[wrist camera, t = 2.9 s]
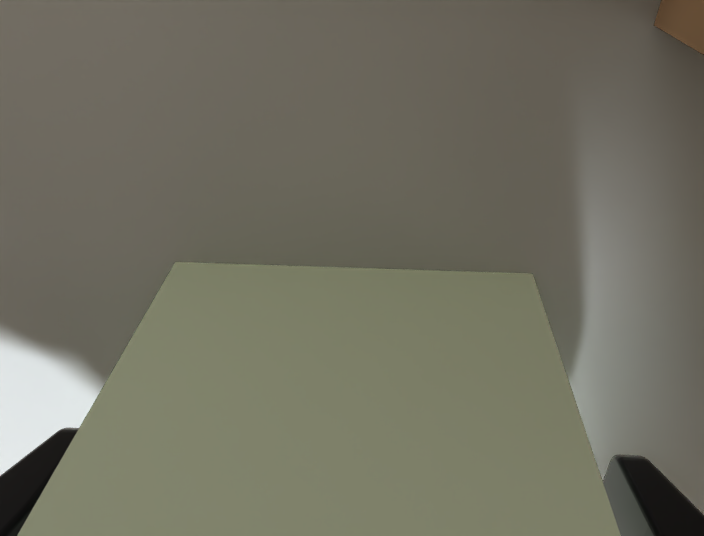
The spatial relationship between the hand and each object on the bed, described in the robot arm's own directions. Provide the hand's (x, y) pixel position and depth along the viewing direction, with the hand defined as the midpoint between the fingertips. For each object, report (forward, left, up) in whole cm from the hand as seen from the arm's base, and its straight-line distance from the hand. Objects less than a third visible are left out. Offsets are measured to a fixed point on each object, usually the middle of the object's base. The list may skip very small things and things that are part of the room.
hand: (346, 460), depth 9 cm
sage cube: (0, 0, -1) cm, 1 cm away
